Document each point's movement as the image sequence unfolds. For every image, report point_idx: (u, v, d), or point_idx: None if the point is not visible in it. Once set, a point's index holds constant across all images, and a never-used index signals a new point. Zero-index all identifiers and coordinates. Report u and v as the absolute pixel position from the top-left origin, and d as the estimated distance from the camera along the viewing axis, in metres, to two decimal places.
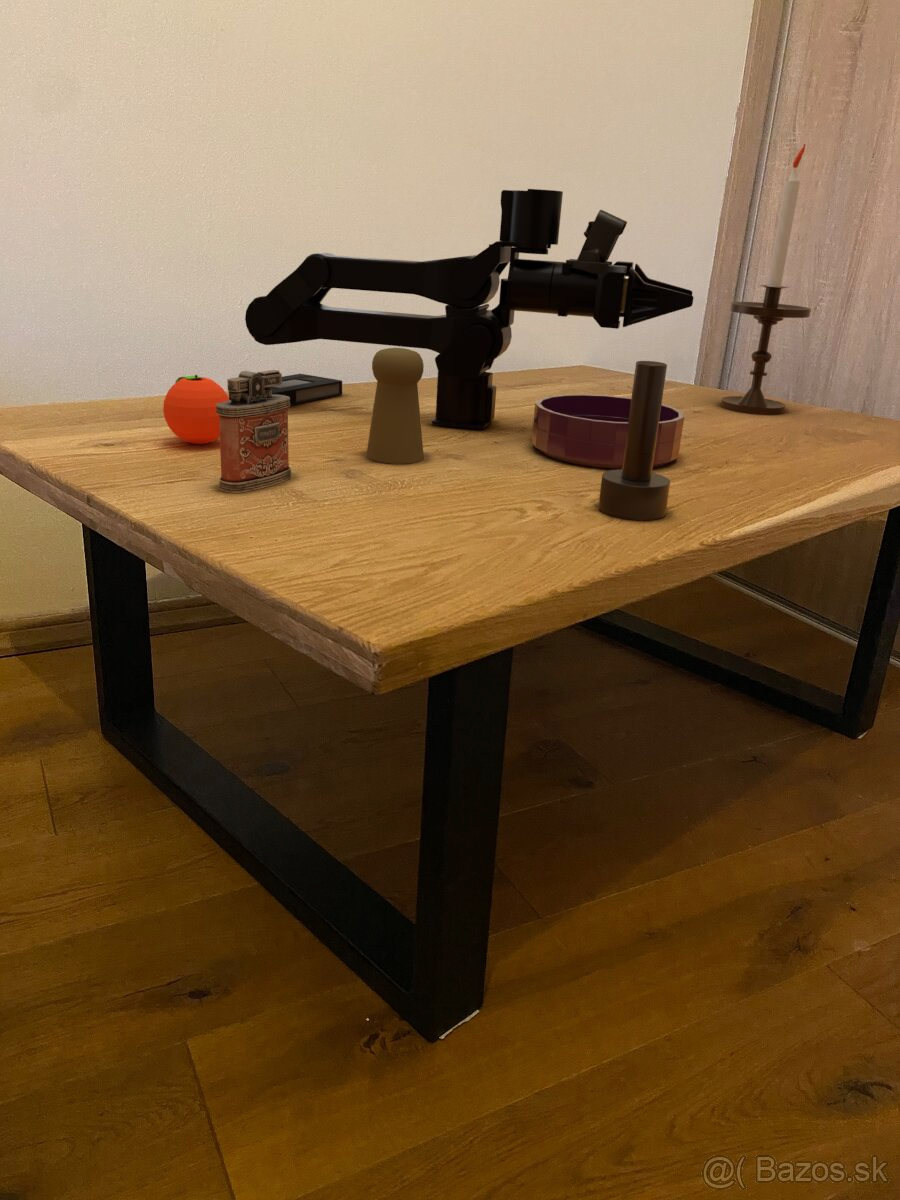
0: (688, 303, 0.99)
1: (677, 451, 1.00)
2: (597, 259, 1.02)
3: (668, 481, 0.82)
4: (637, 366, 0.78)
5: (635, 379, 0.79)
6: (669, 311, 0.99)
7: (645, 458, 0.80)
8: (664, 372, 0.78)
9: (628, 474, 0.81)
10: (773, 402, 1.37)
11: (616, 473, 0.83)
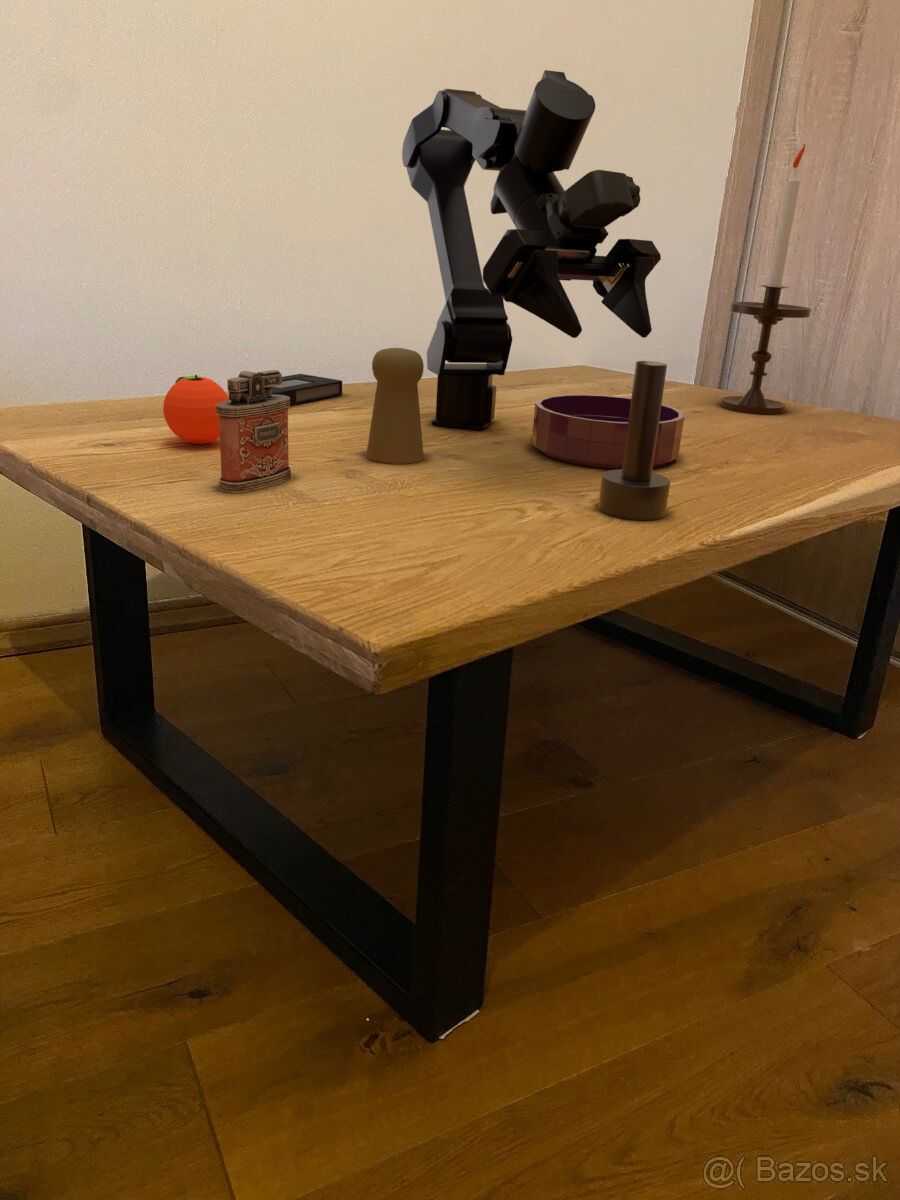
0: (571, 332, 0.83)
1: (677, 451, 1.00)
2: (561, 217, 0.85)
3: (668, 481, 0.82)
4: (637, 366, 0.78)
5: (635, 379, 0.79)
6: (552, 324, 0.84)
7: (645, 458, 0.80)
8: (664, 372, 0.78)
9: (628, 474, 0.81)
10: (773, 402, 1.37)
11: (616, 473, 0.83)
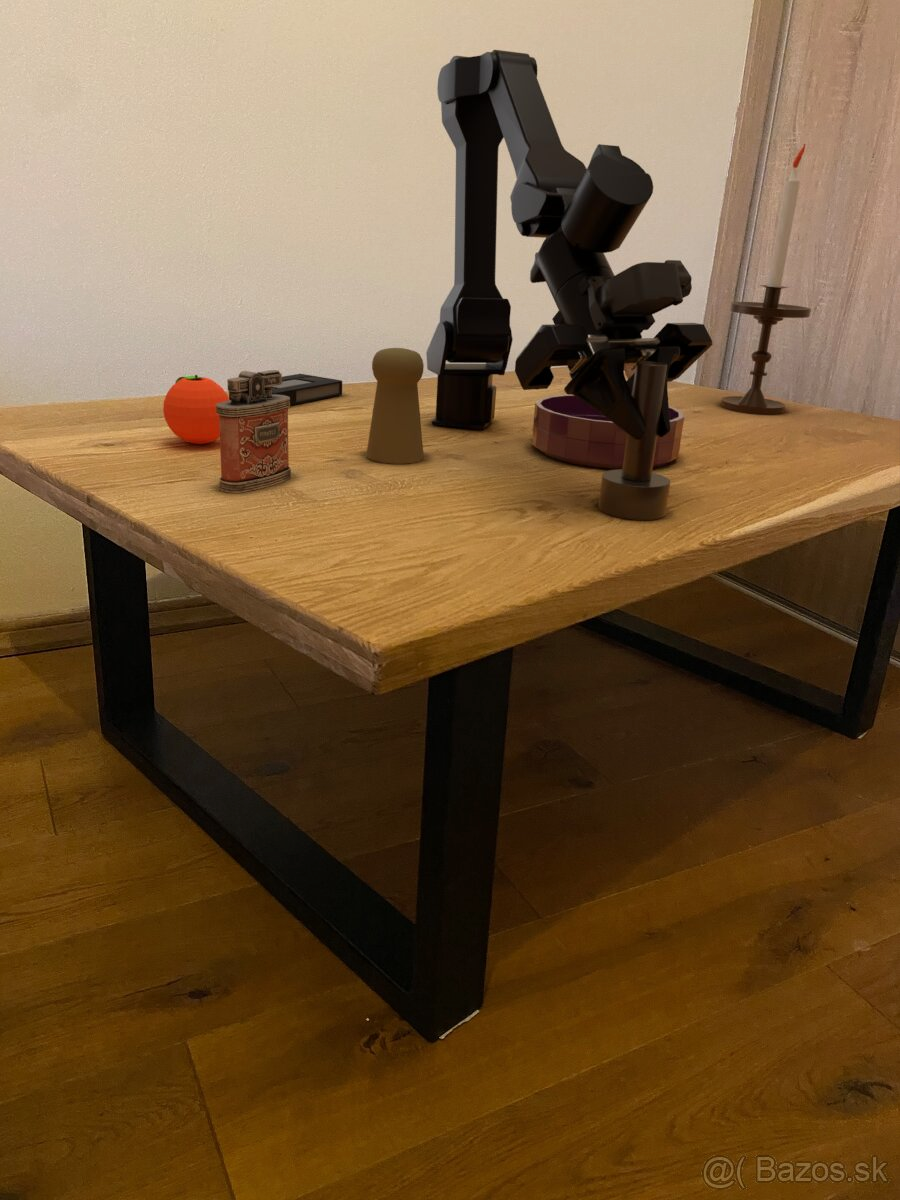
0: (634, 434, 0.79)
1: (677, 451, 1.00)
2: (603, 307, 0.78)
3: (668, 481, 0.82)
4: (638, 366, 0.78)
5: (635, 379, 0.79)
6: (615, 422, 0.80)
7: (645, 458, 0.80)
8: (664, 372, 0.78)
9: (628, 474, 0.81)
10: (773, 402, 1.37)
11: (616, 473, 0.83)
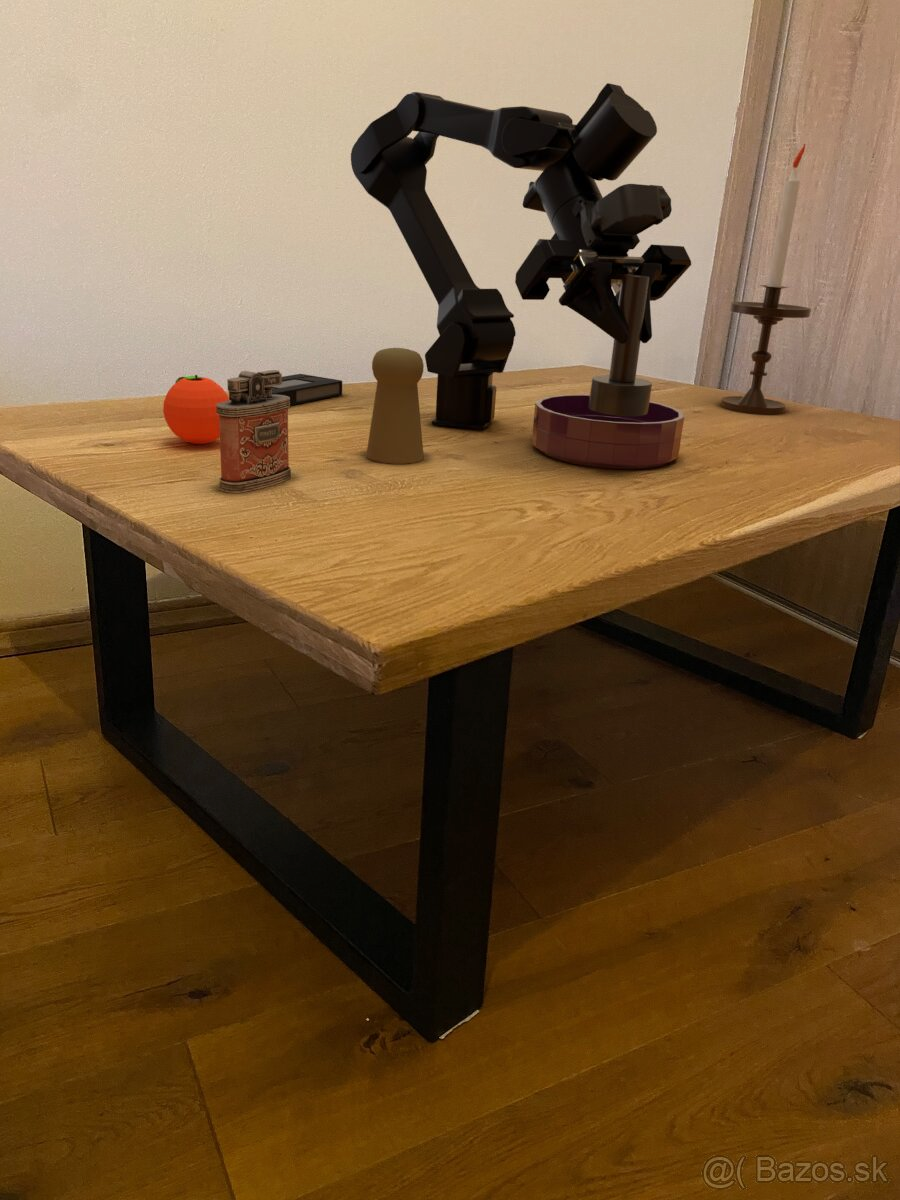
0: (620, 339, 0.90)
1: (677, 451, 1.00)
2: (593, 226, 0.89)
3: (650, 383, 0.93)
4: (623, 277, 0.89)
5: (621, 289, 0.89)
6: (603, 329, 0.91)
7: (629, 360, 0.91)
8: (646, 283, 0.89)
9: (614, 376, 0.92)
10: (773, 402, 1.37)
11: (604, 377, 0.94)
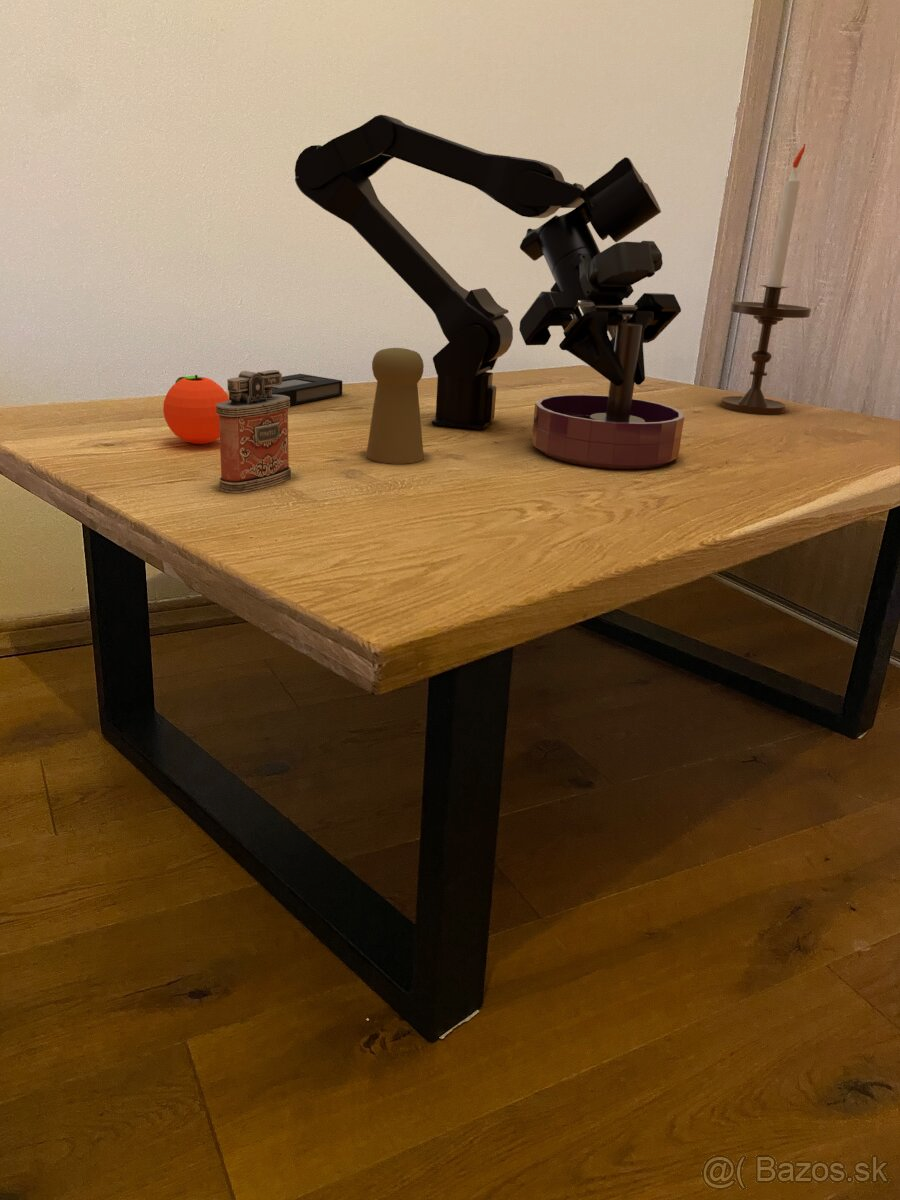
0: (615, 381, 0.98)
1: (677, 451, 1.00)
2: (591, 278, 0.97)
3: (643, 421, 1.01)
4: (618, 325, 0.97)
5: (616, 336, 0.98)
6: (600, 372, 0.99)
7: (624, 401, 0.99)
8: (640, 331, 0.97)
9: (611, 415, 1.00)
10: (773, 402, 1.37)
11: (601, 415, 1.02)
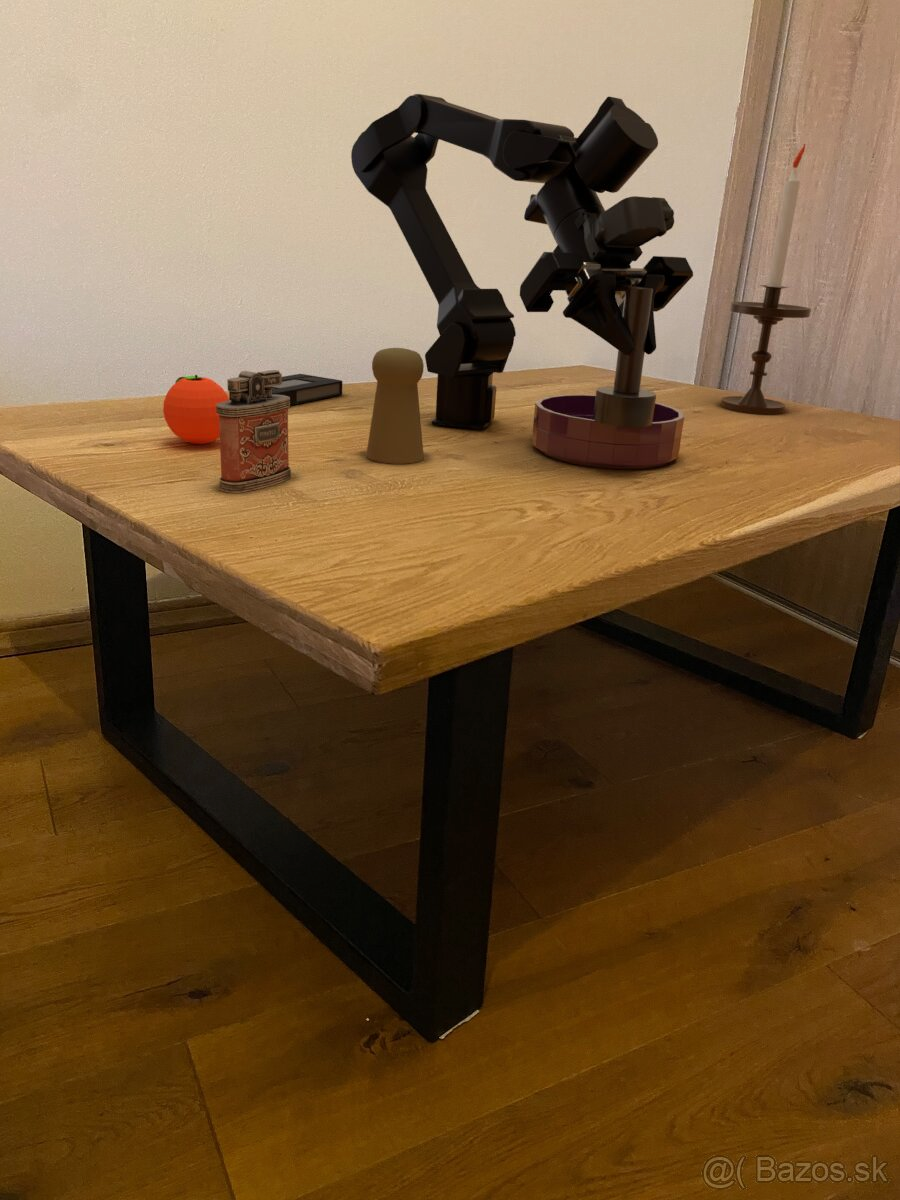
0: (624, 350, 0.90)
1: (677, 451, 1.00)
2: (597, 238, 0.89)
3: (654, 394, 0.93)
4: (627, 289, 0.89)
5: (625, 301, 0.90)
6: (607, 340, 0.91)
7: (633, 372, 0.91)
8: (650, 295, 0.89)
9: (619, 387, 0.92)
10: (773, 402, 1.37)
11: (608, 388, 0.94)
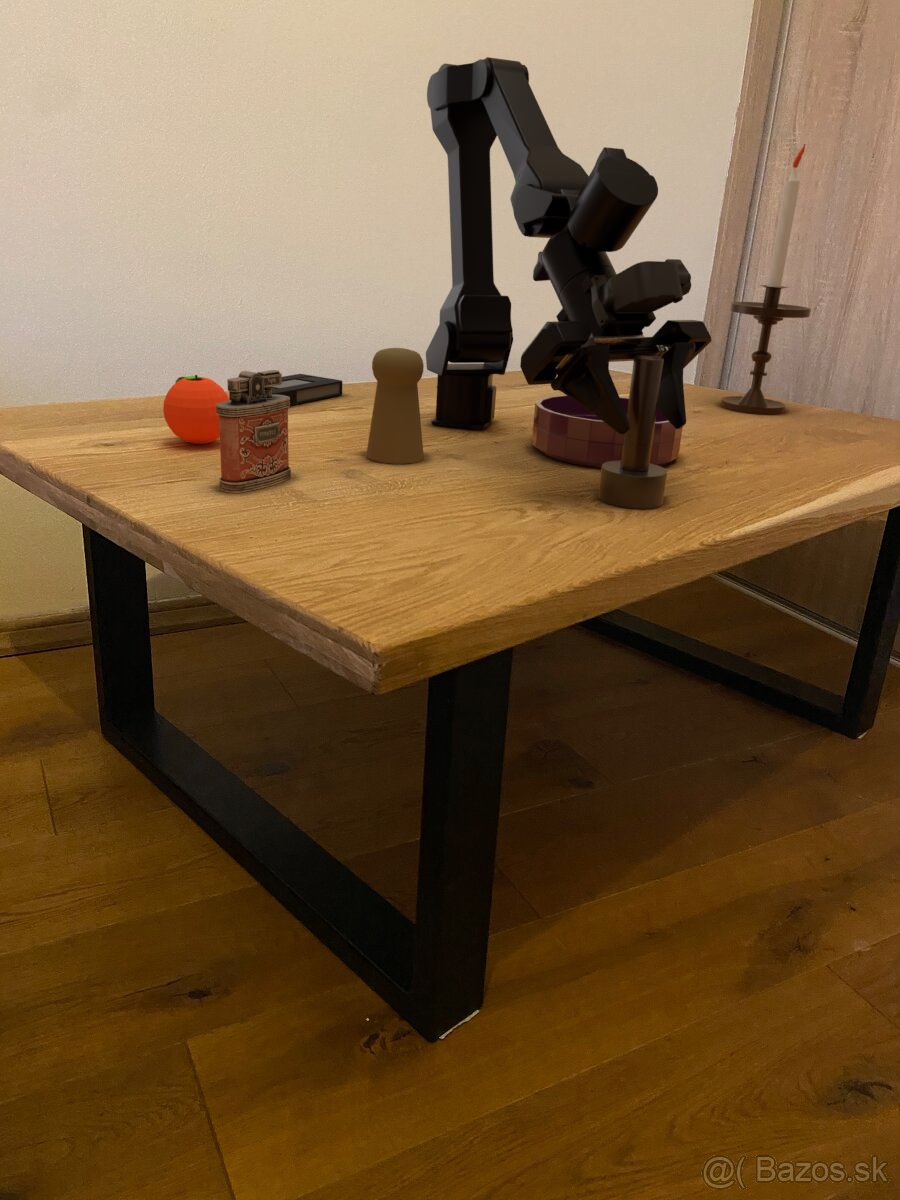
0: (619, 429, 0.81)
1: (677, 451, 1.00)
2: (605, 304, 0.81)
3: (665, 471, 0.85)
4: (636, 360, 0.81)
5: (633, 373, 0.82)
6: (600, 417, 0.82)
7: (642, 449, 0.84)
8: (661, 366, 0.81)
9: (626, 464, 0.85)
10: (773, 402, 1.37)
11: (615, 464, 0.87)
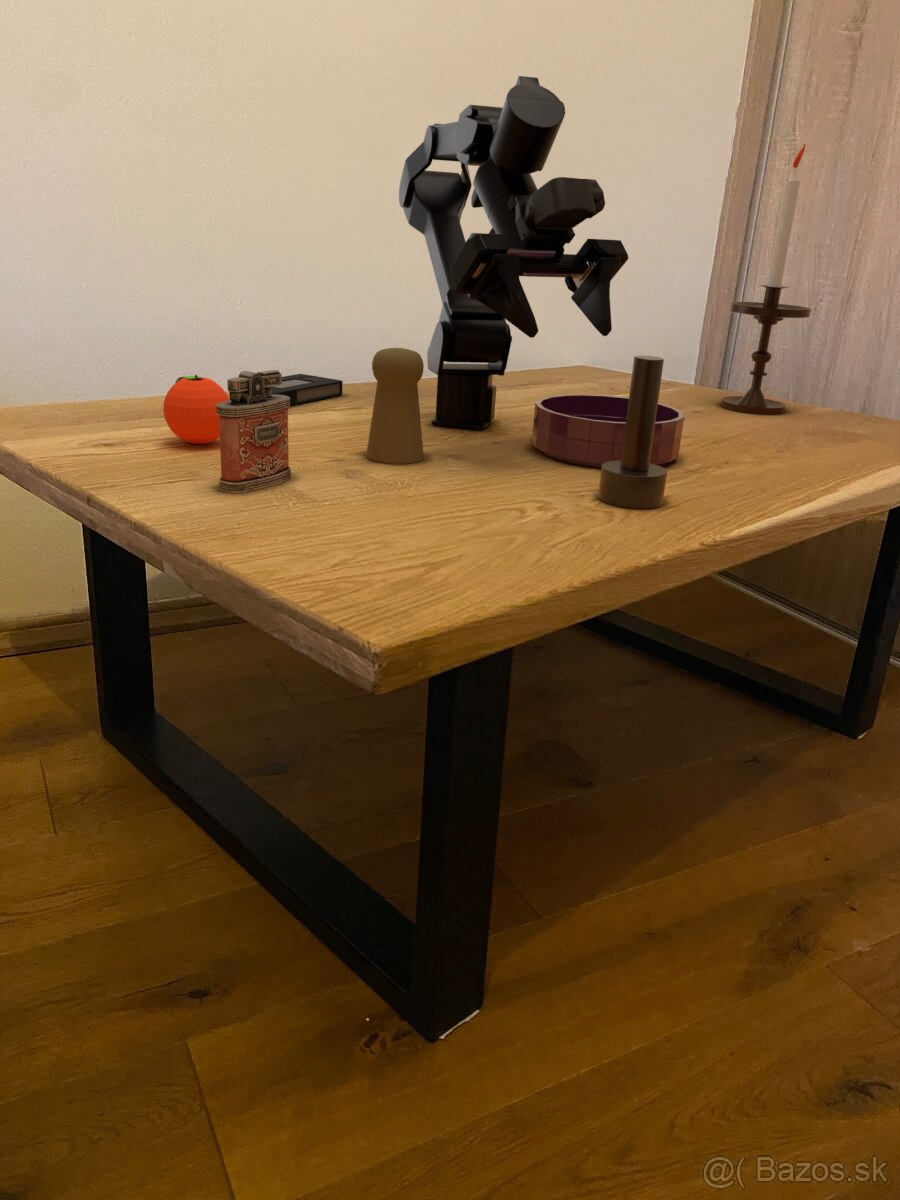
0: (529, 332, 0.88)
1: (677, 451, 1.00)
2: (527, 219, 0.89)
3: (665, 471, 0.85)
4: (636, 360, 0.81)
5: (633, 373, 0.82)
6: (512, 323, 0.89)
7: (642, 449, 0.84)
8: (661, 366, 0.81)
9: (626, 464, 0.85)
10: (773, 402, 1.37)
11: (615, 464, 0.87)
